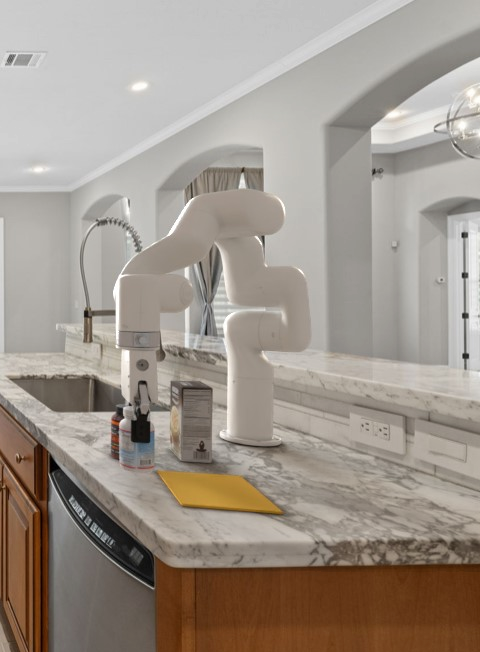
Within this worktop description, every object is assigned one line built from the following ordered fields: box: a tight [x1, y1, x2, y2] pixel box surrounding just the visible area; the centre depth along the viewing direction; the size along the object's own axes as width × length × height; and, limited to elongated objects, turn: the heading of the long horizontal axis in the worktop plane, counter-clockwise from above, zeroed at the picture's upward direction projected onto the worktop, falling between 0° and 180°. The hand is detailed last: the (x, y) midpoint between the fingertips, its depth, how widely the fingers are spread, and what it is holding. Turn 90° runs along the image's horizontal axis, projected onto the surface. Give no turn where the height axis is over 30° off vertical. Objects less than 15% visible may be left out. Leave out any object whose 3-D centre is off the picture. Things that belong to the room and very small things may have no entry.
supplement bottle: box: [110, 403, 125, 460], centre depth 118 cm, size 6×6×11 cm
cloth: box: [156, 469, 284, 515], centre depth 98 cm, size 18×15×1 cm
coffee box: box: [169, 380, 214, 464], centre depth 119 cm, size 9×6×16 cm
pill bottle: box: [118, 406, 156, 474], centre depth 101 cm, size 6×6×11 cm
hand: (136, 436), depth 101 cm, fingers closed on pill bottle, 6 cm apart
